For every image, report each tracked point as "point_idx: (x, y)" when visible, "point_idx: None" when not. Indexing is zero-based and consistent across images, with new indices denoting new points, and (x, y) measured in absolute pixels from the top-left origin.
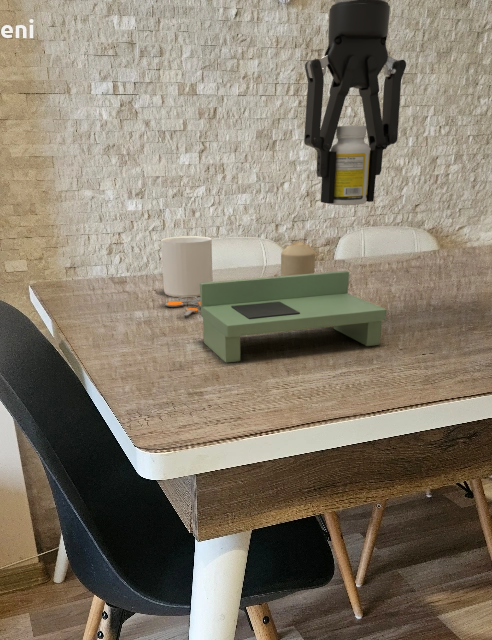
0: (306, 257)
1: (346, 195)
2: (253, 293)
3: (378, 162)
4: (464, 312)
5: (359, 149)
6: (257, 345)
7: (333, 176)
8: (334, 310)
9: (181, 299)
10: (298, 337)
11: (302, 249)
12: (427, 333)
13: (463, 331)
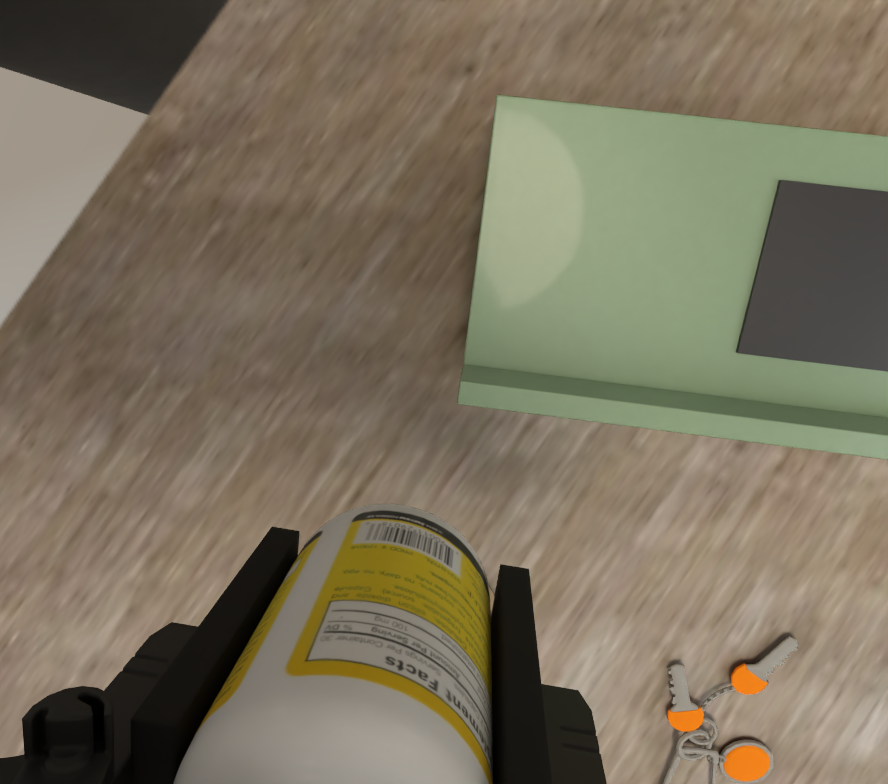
0: None
1: (449, 543)
2: (809, 413)
3: (145, 679)
4: (74, 316)
5: (338, 703)
6: None
7: (514, 655)
8: (653, 167)
9: (715, 782)
10: None
11: None
12: (302, 176)
13: (199, 144)
